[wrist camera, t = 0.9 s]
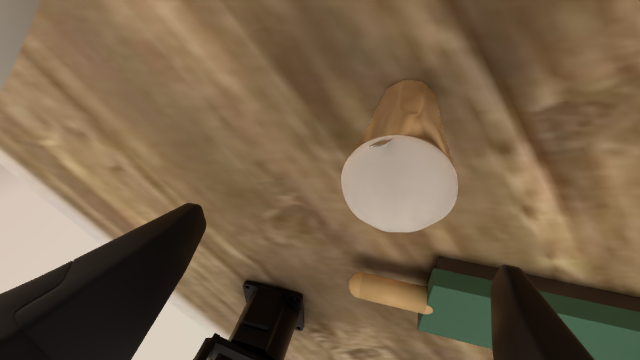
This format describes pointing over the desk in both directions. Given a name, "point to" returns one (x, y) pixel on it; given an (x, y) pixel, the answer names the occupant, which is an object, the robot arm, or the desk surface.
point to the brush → (475, 307)
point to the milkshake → (402, 163)
